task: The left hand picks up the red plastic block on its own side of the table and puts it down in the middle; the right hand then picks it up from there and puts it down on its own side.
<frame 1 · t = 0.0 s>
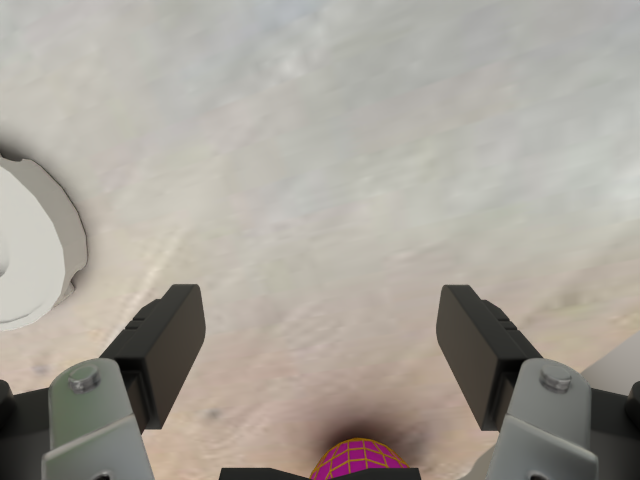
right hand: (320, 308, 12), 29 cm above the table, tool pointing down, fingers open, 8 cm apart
decorative egg: (357, 450, 56), on the table
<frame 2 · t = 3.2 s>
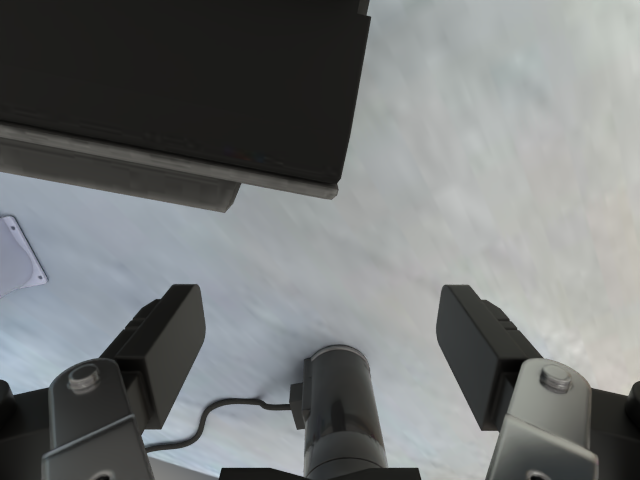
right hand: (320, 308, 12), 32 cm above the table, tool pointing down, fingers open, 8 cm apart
when the left hand's fingers open (2 cm above the table, at t = 7.6 s): block stays where it is, on the table.
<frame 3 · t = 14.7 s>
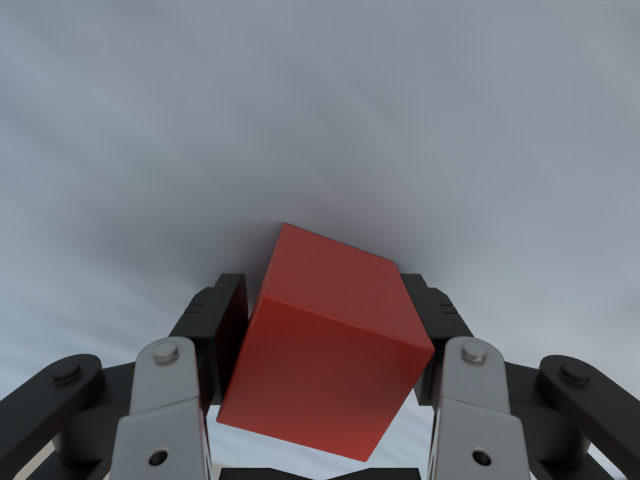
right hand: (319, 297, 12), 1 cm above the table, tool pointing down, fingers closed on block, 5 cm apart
block: (320, 289, 13), on the table, touching right hand
when the right hand's fingers open (2 cm above the table, at t = 24.4 s): block stays where it is, on the table.
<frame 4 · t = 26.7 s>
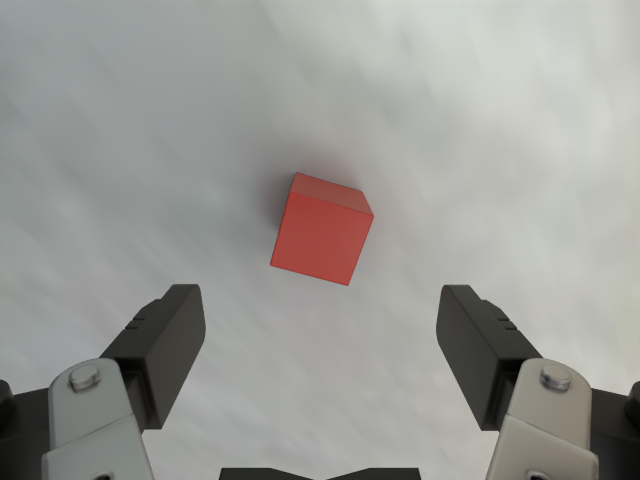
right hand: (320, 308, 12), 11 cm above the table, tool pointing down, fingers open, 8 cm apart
block: (320, 212, 21), on the table
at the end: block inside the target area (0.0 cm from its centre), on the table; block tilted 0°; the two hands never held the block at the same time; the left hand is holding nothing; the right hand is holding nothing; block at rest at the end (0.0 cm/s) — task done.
